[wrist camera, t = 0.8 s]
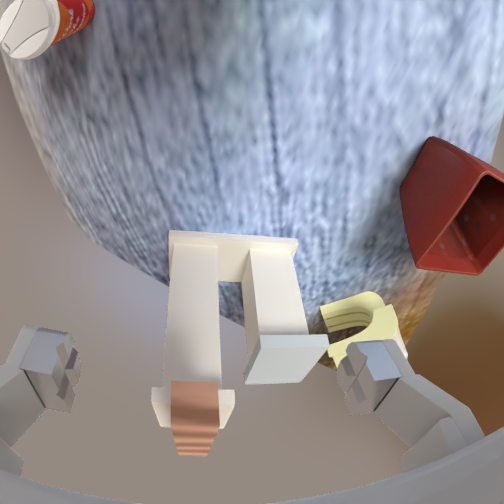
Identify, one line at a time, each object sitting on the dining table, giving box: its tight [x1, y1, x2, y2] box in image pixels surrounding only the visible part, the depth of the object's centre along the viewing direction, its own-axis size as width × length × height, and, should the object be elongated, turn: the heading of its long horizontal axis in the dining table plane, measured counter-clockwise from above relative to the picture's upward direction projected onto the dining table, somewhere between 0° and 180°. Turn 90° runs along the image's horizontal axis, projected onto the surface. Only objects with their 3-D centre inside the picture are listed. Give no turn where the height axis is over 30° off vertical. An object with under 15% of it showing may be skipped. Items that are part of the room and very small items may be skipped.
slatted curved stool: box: [320, 292, 398, 367], centre depth 76 cm, size 30×16×18 cm, turn 21°
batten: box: [171, 380, 220, 456], centre depth 35 cm, size 24×4×4 cm, turn 170°
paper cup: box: [0, 0, 95, 60], centre depth 22 cm, size 8×8×14 cm
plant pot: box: [400, 136, 504, 275], centre depth 46 cm, size 19×19×17 cm
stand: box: [151, 230, 330, 429], centre depth 51 cm, size 14×24×32 cm, turn 80°
